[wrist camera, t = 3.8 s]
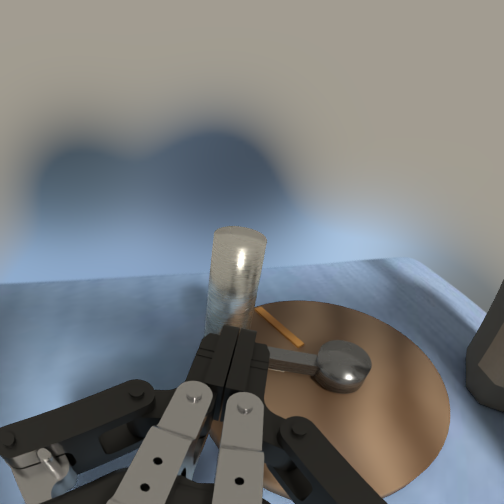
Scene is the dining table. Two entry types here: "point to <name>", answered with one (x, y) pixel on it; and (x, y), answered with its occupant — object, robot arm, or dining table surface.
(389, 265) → the dining table surface
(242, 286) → the silver bent piece
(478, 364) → the liquor
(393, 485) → the round wooden board
